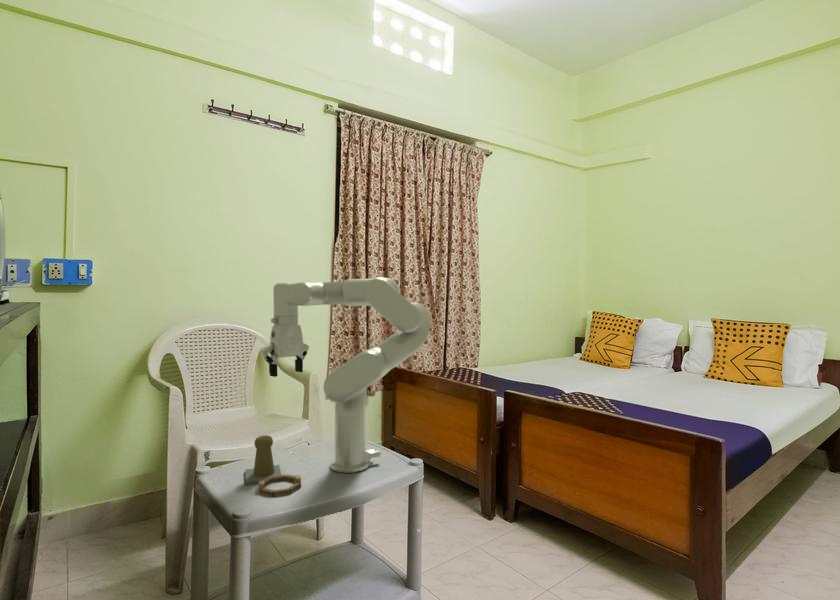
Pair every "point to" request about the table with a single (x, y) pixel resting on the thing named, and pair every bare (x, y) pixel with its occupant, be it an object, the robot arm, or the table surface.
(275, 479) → the collar
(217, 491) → the table surface
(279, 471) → the pad
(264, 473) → the cork
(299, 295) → the robot arm
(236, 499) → the table surface
